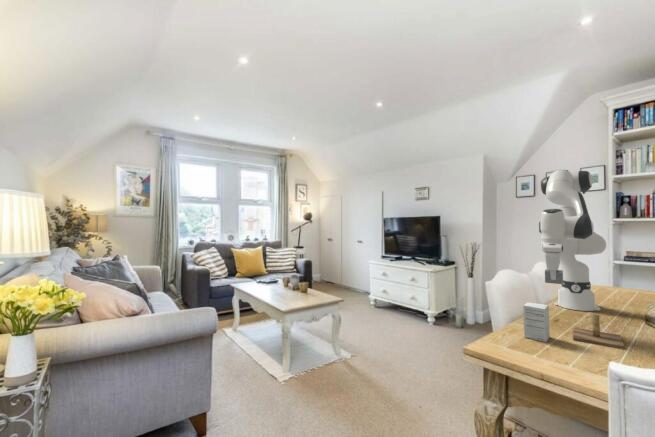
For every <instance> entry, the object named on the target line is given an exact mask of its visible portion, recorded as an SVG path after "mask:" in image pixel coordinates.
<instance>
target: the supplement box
mask: <svg viewBox="0 0 655 437" xmlns="http://www.w3.org/2000/svg"><path fill="white" fill-rule="evenodd" d="M522 308H523V332H524V333H523V336H524V338H526V339H531V340H536V341H540V342H544V343H547V342H548V340H549V338H550V335H551V334H550V312H549V310H550V309H549V305H548V304H544V303H535V302H529V301H527V302H526V303H525V304H524V305H523V307H522Z"/></svg>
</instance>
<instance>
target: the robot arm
mask: <svg viewBox="0 0 655 437" xmlns="http://www.w3.org/2000/svg"><path fill="white" fill-rule="evenodd" d="M593 183H594V178H593V176H592V174H591V172H589V171H588V170H579V171H569V170H566V169H557V170H556V171H555V170H554V171H553V172H552V173H551V174H550V176H546V177H544V178H543V179H541V180H540V191H541V193H542V194H543V195H545V196H546V199H547V200H548V202H549V201H550V202H551V203H552V204H555V205H556V206H557V208H549V209H548V208H547V209H544V210H542V211H541V214H540V221H538V222H539V223H538V232H539V234H541V237H540V250H541V251H542V252H544V259H545V260H544V261H545V265H546V266H545V267H546V269H547V270H550V275H551V279H552V280H556V271H557V270H559V268H560V267H561V270H563V284H561V288H559V289H558V291H557V294H558V295H557V296H558V298H557V299H558V300H557V301H554V303H553V304H554V306H557V305H558V306H559V307H562V308H565V309H568V310H575V311H580V312H581V311H583V312H585V311H586V312H592V311H599V312H600V311H601V308H600V307H599V306H598V305H596V294H595V293H594V292H593V291H592V288H591V286H592V284H591V281H590V268H589V266H588V265H587V264H586V263H584V262H582V261H581V260H577V259H576V255H578V256H579V255H581V256H584V255H586V256H590V255H598V254H602V253H603V252H604V251H605V250H606V248H607V242H606V240H605V238H604V237H603V236H601V235H600V234H599V233H596V232H595V231H594V223H593V221H592V219H591V216H590V214H589V210H588V207H587V204H586V200H585V197H584V195H585V194H586V192H587V191H590V189H591V188H592V186H593Z"/></svg>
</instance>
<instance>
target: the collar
mask: <svg viewBox="0 0 655 437" xmlns="http://www.w3.org/2000/svg"><path fill="white" fill-rule="evenodd" d="M544 282H545V283H546V284H555V285H562V284H563V270H562V269H558V270H557V271H556V280H552V279H551V275H550V270H547V268H546V269H545V270H544Z"/></svg>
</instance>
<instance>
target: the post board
mask: <svg viewBox="0 0 655 437" xmlns="http://www.w3.org/2000/svg"><path fill="white" fill-rule="evenodd" d="M591 318H592V330H591V329H584V328H578V327H573V328H572V331H573V332H572V340H573V341H576V342H577V341H578V342H583V343H588V344H594V345H600V346H604V347H610V348H614V349H616V348H617V349H621V350H625V345H624V342H623V340H622V338H621V335H620V334H616V333H609V332H603V331H601V329H600V328H601V327H600V324H601V323H600V314H599V315H598V314H592V317H591Z"/></svg>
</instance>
